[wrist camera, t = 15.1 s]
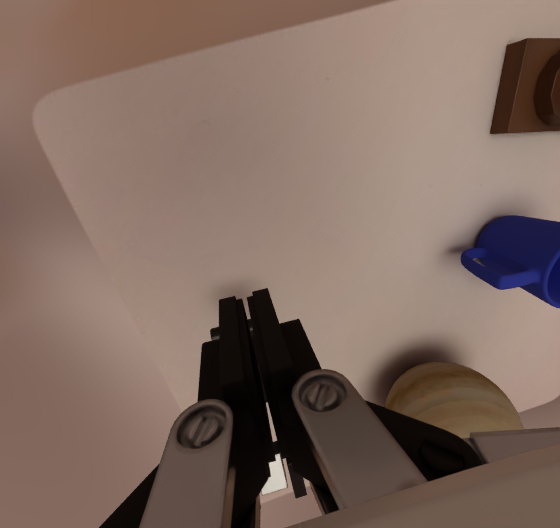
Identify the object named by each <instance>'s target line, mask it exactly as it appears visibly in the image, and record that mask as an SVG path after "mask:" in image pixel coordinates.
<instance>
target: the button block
mask: <svg viewBox="0 0 560 528" xmlns="http://www.w3.org/2000/svg"><path fill="white" fill-rule="evenodd" d="M541 131H560V38H527V39H524V40H521V41H518V42H515V43H513V44H510V45H507V50H506V55H505V60H504V65H503V70H502V75H501V81H500V86H499V91H498V96H497V101H496V106H495V111H494V117H493V122H492V127H491V132H490V134H498V133H521V132H541Z"/></svg>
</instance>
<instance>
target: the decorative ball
mask: <svg viewBox="0 0 560 528" xmlns="http://www.w3.org/2000/svg"><path fill="white" fill-rule="evenodd" d="M385 408H387V409H390V410H393V411H395V412H398V413H401V414H403V415H406V416H409V417H412V418H414V419H417V420H420V421H422V422H425V423H428V424H431V425H433V426H436V427H439V428H442V429H444V430H447V431H449V432H451V433H453V434H455V435H457V436H459V437H460V438H469V436H470V433H472V432H489V431H505V430H522V429H524V428H523V425H522V422H521V420H520V417H519V414H518V412H517V411H516V409H515V407H514V406H513V404H512V403H511V401H510V400H509V399H508V397H507V396H506V395H505V393H504V392H503V391H502V390H501V389H500V388H499V387H498V386H497V385H496V384H494V383H493V382H492V381H491V380H489V379H488V378H486V377H485V376H483V375H482V374H480V373H479V372H477V371H475V370H473V369H471V368H468V367H465V366H462V365H459V364H456V363H450V362H429V363H423V364H420V365H417V366H415V367H413V368H411V369H409V370H408V371H406V372H405V373H404V374H402V375H401V376H400V377H399V378H398V379H397V380H396V382H395V383H394V384H393V386H392V388H391V389H390V392H389V394H388V396H387V400H386V403H385Z"/></svg>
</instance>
